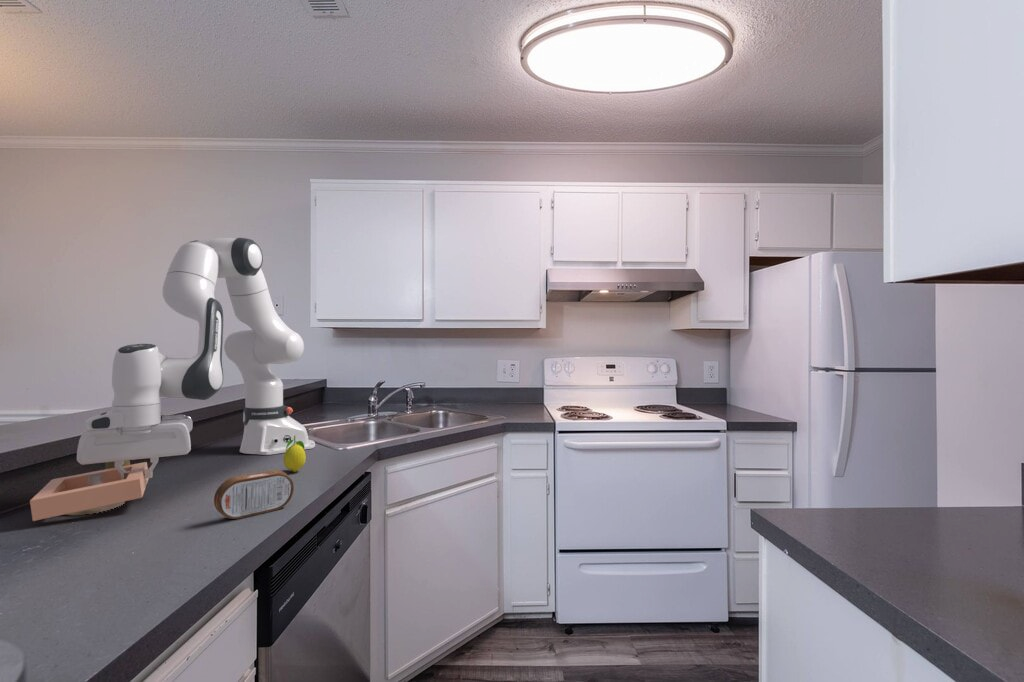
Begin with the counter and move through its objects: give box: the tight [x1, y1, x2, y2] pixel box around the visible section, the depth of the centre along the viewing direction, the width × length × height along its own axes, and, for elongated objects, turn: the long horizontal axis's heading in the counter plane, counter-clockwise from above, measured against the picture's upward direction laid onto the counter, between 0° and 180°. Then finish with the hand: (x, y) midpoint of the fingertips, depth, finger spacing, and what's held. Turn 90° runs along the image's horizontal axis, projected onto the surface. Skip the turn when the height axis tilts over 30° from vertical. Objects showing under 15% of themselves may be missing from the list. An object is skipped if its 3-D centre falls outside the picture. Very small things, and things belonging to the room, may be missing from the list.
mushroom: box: [66, 473, 126, 516], centre depth 107 cm, size 10×10×7 cm
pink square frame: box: [29, 461, 150, 522], centre depth 107 cm, size 17×17×4 cm
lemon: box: [283, 435, 307, 473], centre depth 136 cm, size 7×6×10 cm
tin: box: [213, 469, 295, 520], centre depth 104 cm, size 15×3×8 cm, turn 134°
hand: (137, 478), depth 111 cm, fingers closed on pink square frame, 3 cm apart
